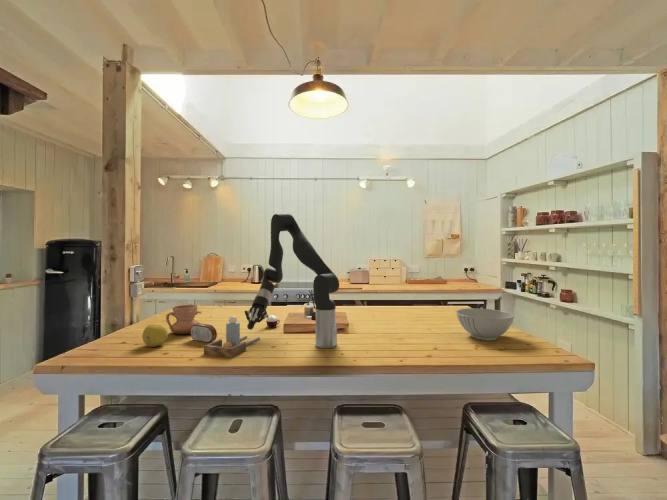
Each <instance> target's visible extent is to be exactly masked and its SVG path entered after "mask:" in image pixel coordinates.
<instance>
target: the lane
mask: <svg viewBox="0 0 667 500" xmlns="http://www.w3.org/2000/svg"><path fill="white" fill-rule="evenodd" d="M246 339H248V336H247V335H245V336H243V337H240V342H243V340H244V341H245V340H246ZM260 340H261V336H257V337H256V338H254V339H252V340H250V341H248V342H246V347H248V346H250V345H252V344H253V343H256V342H257V341H260Z"/></svg>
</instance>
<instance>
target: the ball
mask: <svg viewBox="0 0 667 500" xmlns="http://www.w3.org/2000/svg"><path fill="white" fill-rule="evenodd" d="M222 347H229V348H231V347H232V343H231V342H226V341H225V342H224V343H223V344H222Z"/></svg>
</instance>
